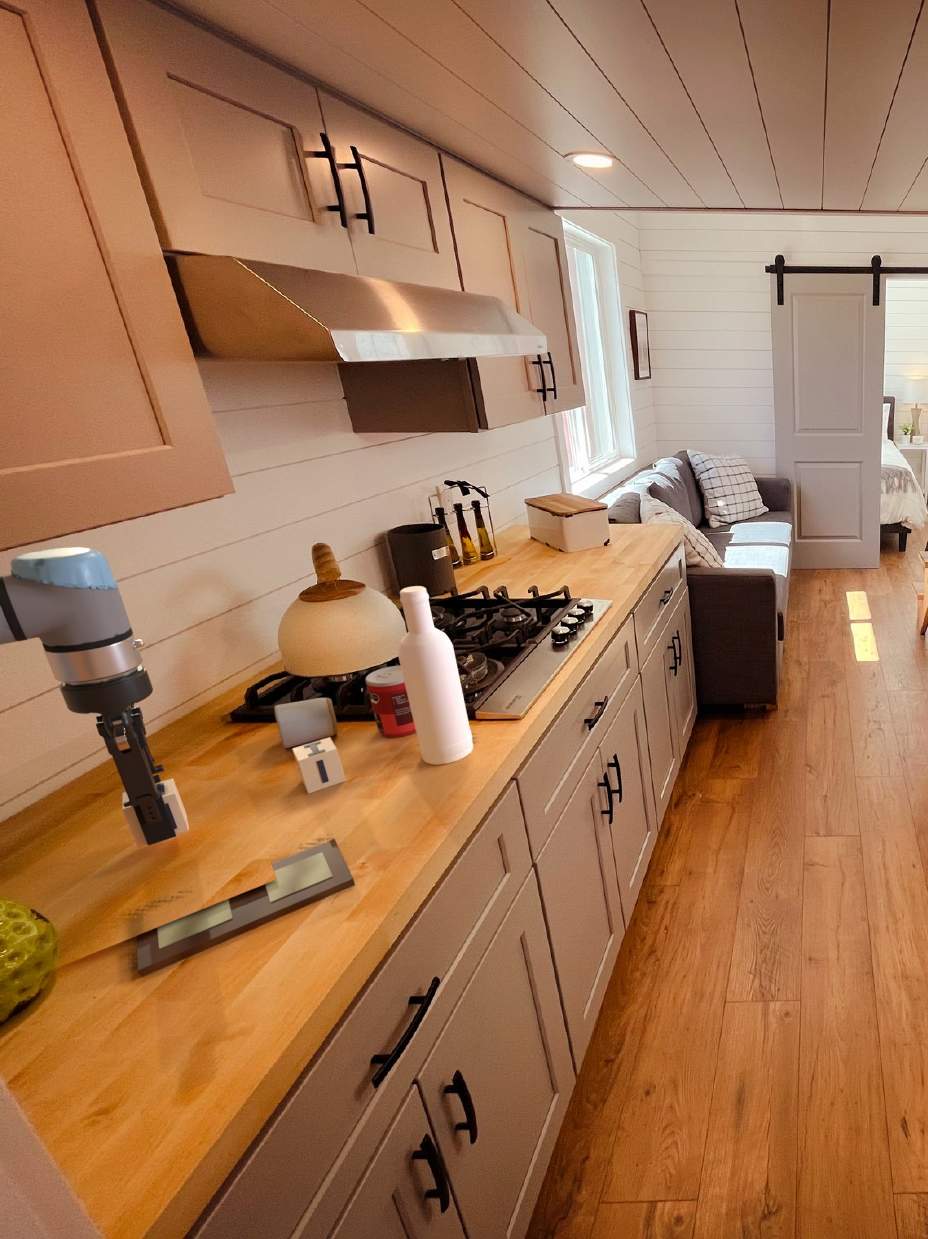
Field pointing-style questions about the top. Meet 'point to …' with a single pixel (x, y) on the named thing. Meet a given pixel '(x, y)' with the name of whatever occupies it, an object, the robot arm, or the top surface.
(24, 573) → the robot arm
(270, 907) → the word board
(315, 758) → the letter I
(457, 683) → the bottle
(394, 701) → the canned food
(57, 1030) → the top surface
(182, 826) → the letter H
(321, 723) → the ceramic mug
